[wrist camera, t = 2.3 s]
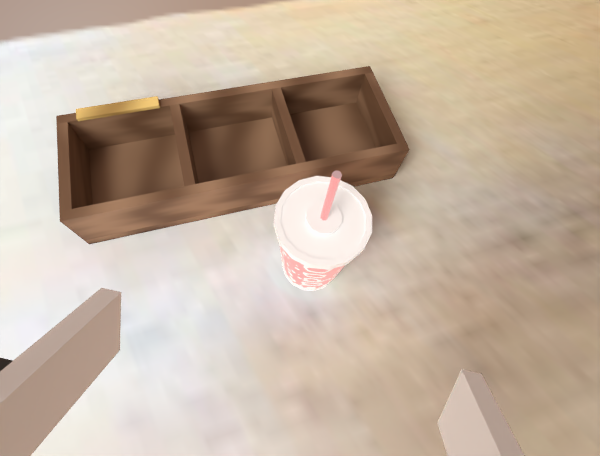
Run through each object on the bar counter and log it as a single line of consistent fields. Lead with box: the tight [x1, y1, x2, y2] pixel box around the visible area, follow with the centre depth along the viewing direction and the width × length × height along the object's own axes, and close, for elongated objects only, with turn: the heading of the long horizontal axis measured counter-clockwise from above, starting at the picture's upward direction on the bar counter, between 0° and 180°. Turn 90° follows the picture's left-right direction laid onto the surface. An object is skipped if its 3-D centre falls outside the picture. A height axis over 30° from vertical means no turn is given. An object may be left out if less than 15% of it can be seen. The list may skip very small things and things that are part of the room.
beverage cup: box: [274, 171, 372, 291], centre depth 24 cm, size 6×6×14 cm
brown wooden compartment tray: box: [57, 66, 409, 244], centre depth 32 cm, size 27×10×5 cm, turn 106°
